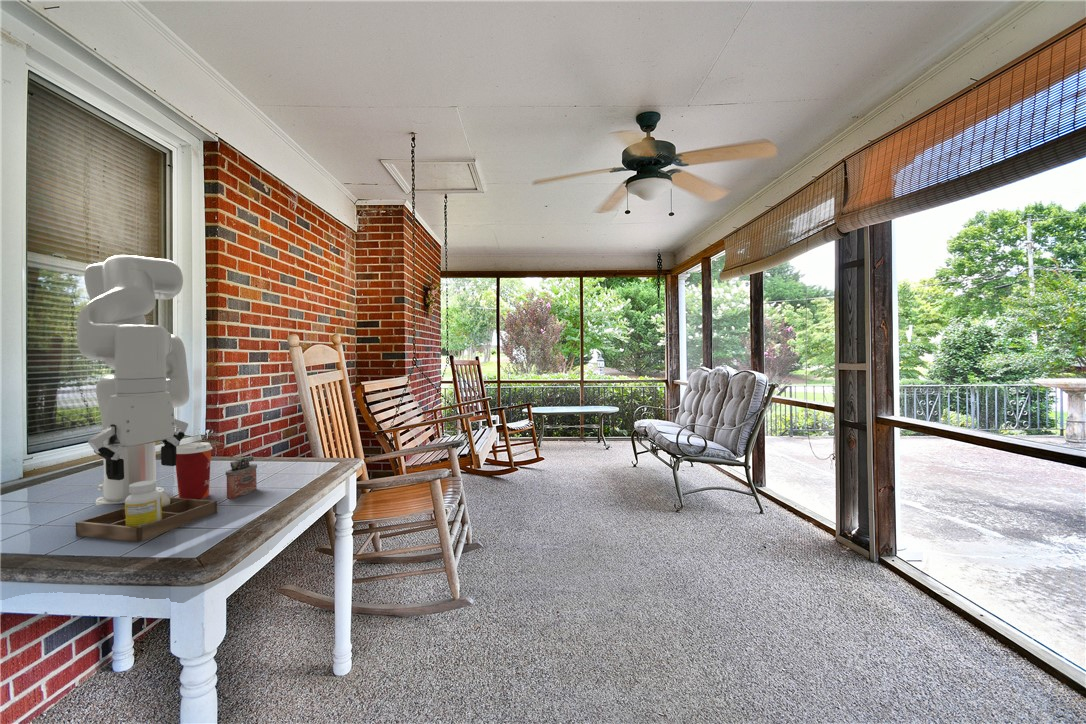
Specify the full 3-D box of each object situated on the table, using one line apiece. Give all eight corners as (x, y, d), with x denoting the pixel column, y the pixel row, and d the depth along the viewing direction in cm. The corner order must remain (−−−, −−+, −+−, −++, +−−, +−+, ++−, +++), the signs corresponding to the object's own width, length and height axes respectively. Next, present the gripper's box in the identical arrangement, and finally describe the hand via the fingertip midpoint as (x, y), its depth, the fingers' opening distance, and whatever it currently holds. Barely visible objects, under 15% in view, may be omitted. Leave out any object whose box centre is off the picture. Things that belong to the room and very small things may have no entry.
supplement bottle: (140, 527, 91) (139, 479, 90) (169, 525, 91) (167, 478, 91) (117, 538, 85) (116, 487, 85) (148, 536, 86) (147, 486, 86)
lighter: (233, 503, 108) (233, 462, 107) (222, 502, 108) (221, 461, 108) (261, 492, 116) (260, 454, 115) (250, 491, 116) (249, 454, 116)
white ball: (134, 518, 95) (133, 495, 95) (159, 509, 100) (158, 488, 100) (152, 519, 94) (152, 496, 94) (176, 511, 99) (176, 489, 99)
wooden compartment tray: (76, 539, 87) (75, 522, 87) (160, 511, 102) (160, 496, 102) (139, 547, 83) (138, 529, 83) (217, 516, 99) (216, 501, 99)
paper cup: (220, 498, 111) (219, 443, 110) (185, 508, 104) (183, 449, 104) (202, 494, 114) (201, 440, 114) (166, 504, 107) (165, 446, 107)
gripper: (171, 382, 97) (173, 459, 98) (73, 390, 80) (75, 483, 81) (199, 383, 95) (200, 462, 96) (104, 392, 78) (107, 487, 79)
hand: (143, 472), depth 88 cm, fingers open, 9 cm apart
